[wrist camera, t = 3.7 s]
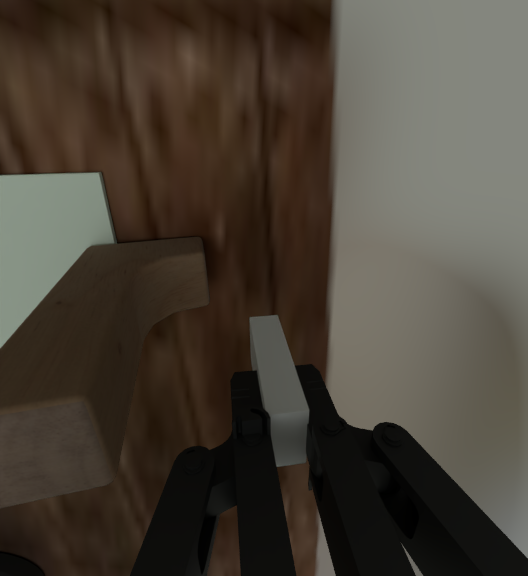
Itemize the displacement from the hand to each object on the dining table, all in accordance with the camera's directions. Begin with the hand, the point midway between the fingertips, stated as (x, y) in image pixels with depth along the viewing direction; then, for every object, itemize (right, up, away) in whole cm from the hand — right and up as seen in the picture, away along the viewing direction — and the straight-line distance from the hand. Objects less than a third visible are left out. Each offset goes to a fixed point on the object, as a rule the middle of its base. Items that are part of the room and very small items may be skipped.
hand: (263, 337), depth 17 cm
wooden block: (-10, +5, +10) cm, 15 cm away
